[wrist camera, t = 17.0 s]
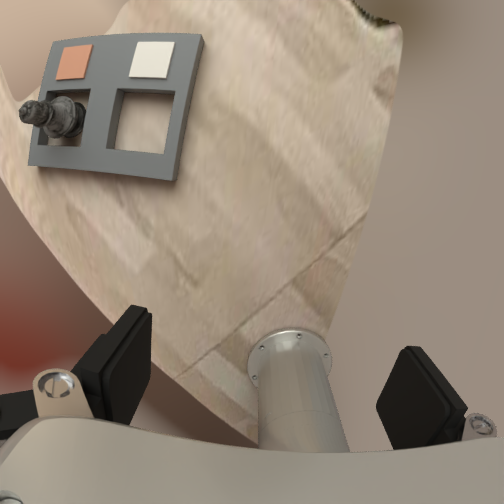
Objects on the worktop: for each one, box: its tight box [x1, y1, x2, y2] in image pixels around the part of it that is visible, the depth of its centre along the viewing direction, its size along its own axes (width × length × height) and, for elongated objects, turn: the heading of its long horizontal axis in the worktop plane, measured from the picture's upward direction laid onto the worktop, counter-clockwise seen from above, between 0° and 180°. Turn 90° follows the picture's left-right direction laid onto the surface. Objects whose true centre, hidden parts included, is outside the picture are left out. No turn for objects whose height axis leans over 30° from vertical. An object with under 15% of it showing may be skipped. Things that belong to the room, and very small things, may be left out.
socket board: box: [28, 33, 204, 181], centre depth 34 cm, size 19×23×3 cm
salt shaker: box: [19, 96, 86, 138], centre depth 30 cm, size 6×6×12 cm
